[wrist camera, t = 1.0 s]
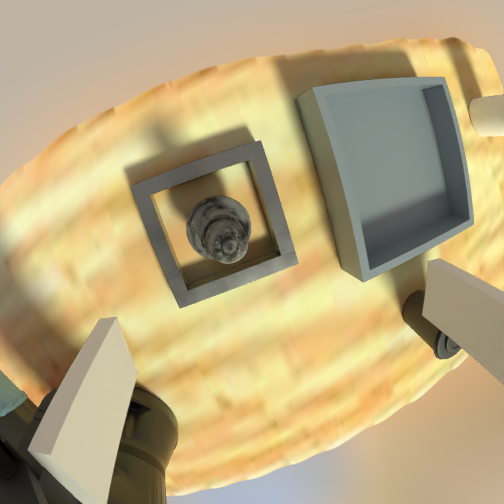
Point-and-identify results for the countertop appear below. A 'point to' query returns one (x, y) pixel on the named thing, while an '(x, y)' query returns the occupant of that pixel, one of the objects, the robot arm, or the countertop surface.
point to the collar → (234, 275)
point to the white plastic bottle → (488, 115)
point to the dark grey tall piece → (219, 229)
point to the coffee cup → (427, 327)
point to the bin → (388, 168)
